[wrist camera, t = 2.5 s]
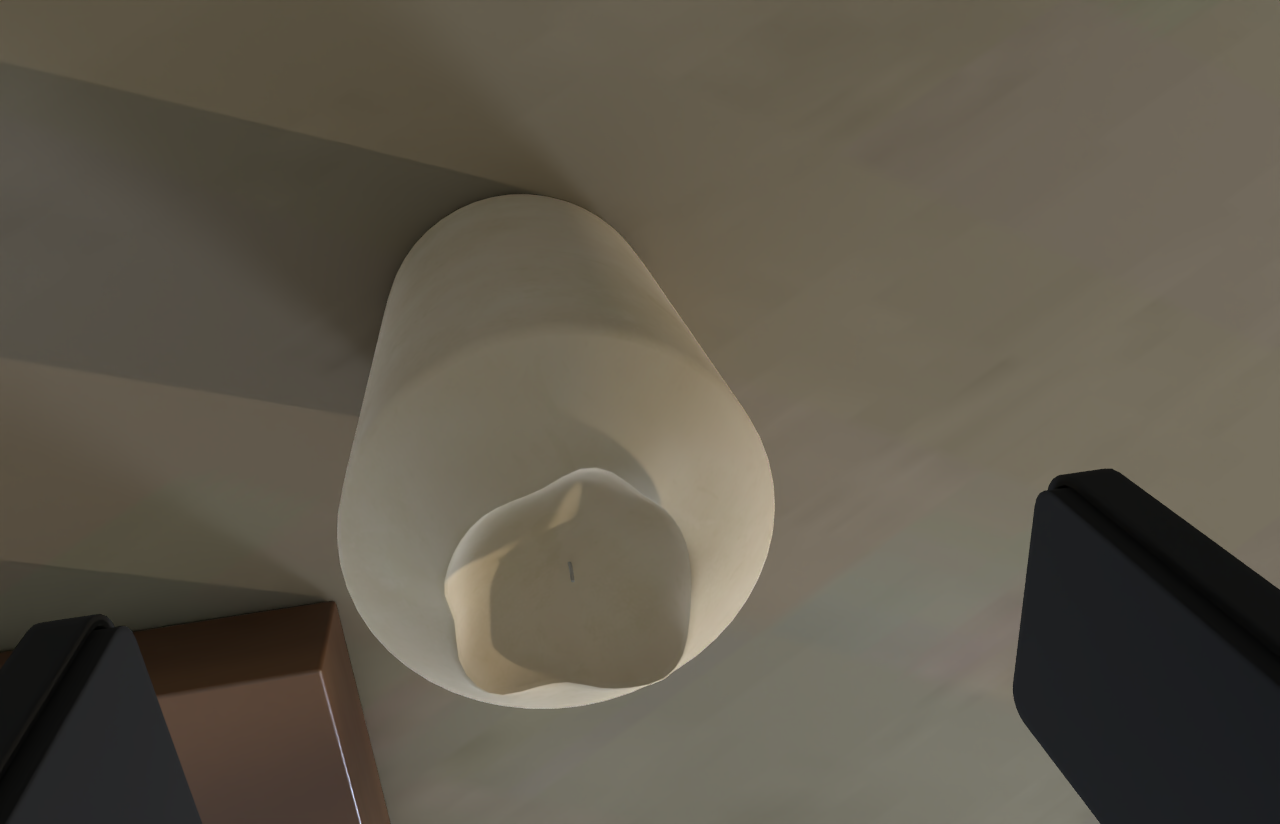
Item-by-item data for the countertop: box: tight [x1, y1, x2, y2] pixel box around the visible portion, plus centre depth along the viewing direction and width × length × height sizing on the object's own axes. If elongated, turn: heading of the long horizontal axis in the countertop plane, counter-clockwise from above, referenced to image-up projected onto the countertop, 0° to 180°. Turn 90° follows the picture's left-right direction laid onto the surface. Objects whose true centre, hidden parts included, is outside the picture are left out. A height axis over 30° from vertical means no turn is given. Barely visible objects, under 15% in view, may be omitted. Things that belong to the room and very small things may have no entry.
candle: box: [337, 194, 775, 709], centre depth 15 cm, size 6×6×10 cm
